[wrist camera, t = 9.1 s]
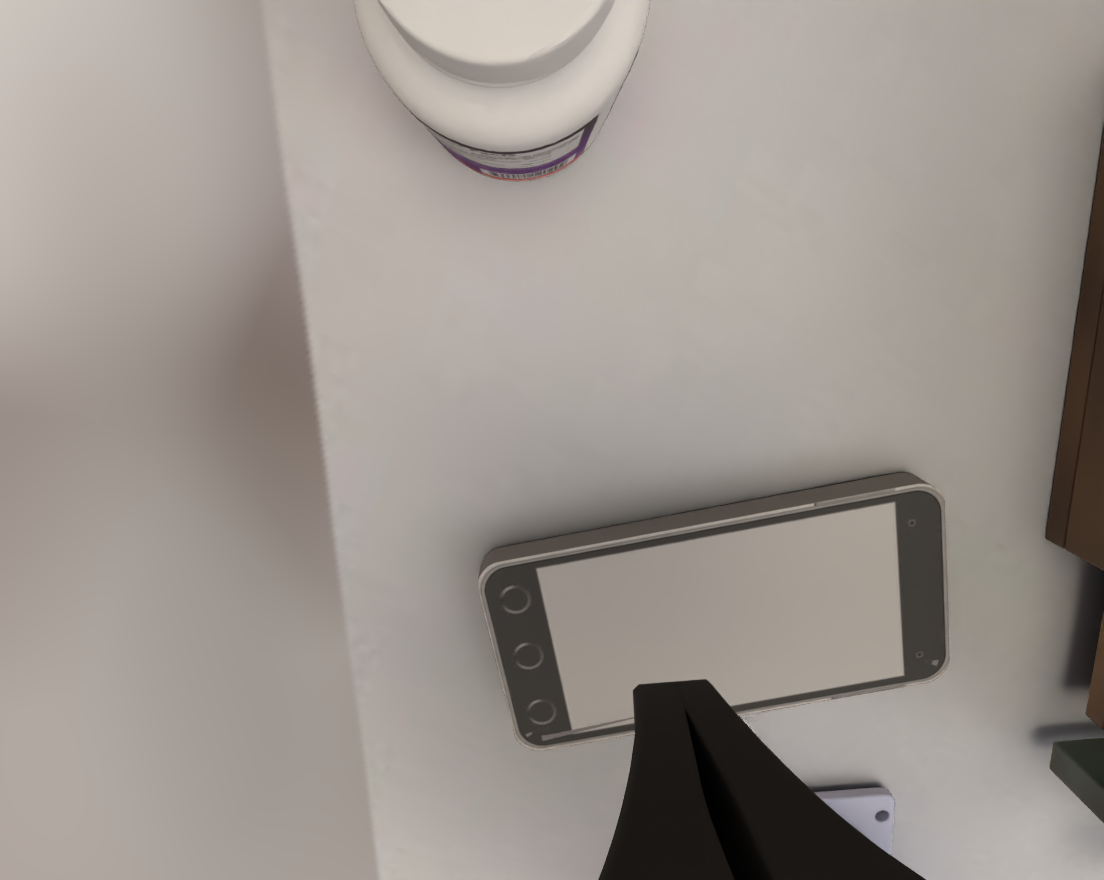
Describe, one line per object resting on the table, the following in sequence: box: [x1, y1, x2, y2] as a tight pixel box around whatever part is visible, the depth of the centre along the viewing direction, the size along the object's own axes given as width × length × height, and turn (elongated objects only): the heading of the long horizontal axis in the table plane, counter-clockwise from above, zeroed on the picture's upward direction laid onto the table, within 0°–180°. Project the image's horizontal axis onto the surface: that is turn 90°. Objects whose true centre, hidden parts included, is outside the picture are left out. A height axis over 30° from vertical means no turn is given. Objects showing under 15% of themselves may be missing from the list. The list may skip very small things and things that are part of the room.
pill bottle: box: [353, 0, 650, 181], centre depth 14 cm, size 5×5×10 cm
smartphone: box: [478, 472, 949, 751], centre depth 22 cm, size 7×1×15 cm
